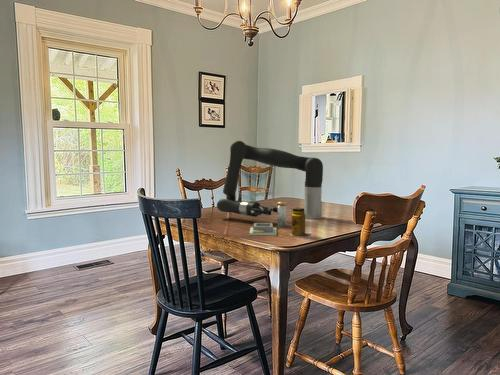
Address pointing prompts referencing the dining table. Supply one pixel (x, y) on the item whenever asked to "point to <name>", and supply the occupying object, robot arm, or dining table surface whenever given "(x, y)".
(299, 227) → the condiment
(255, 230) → the dock
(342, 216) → the dining table surface
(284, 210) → the glass storage jar
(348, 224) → the dining table surface
